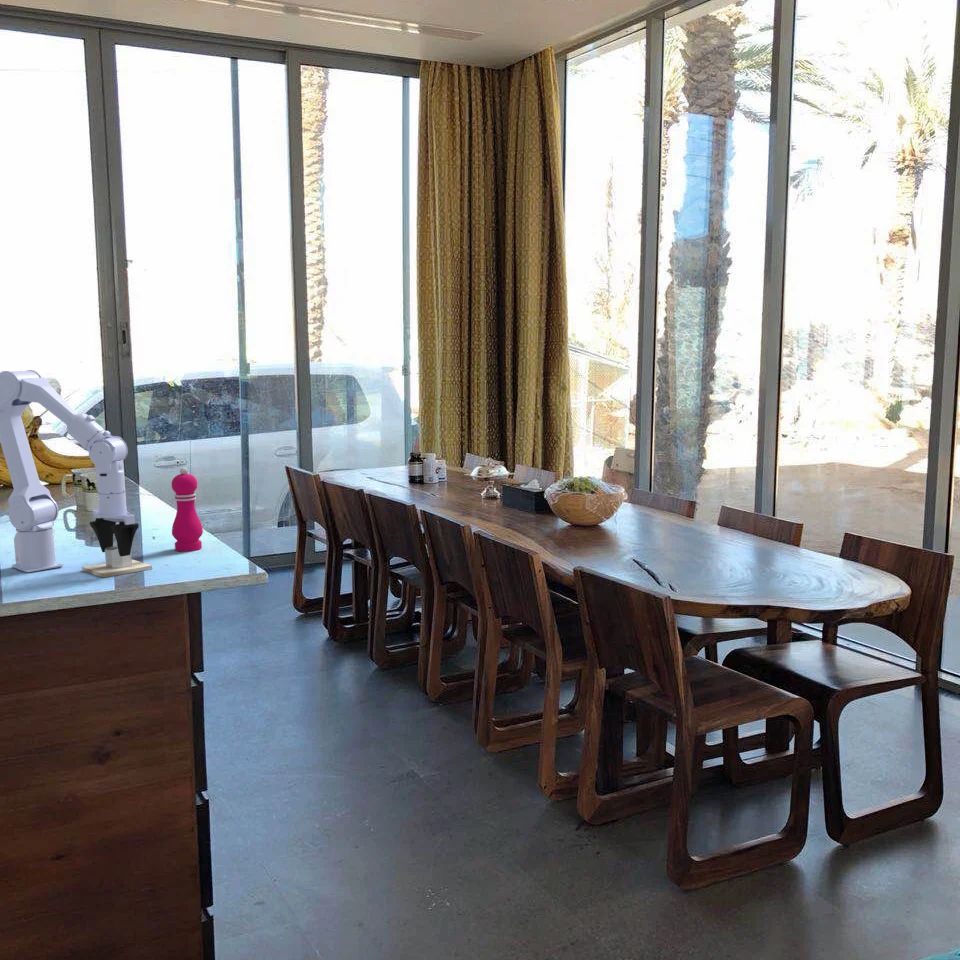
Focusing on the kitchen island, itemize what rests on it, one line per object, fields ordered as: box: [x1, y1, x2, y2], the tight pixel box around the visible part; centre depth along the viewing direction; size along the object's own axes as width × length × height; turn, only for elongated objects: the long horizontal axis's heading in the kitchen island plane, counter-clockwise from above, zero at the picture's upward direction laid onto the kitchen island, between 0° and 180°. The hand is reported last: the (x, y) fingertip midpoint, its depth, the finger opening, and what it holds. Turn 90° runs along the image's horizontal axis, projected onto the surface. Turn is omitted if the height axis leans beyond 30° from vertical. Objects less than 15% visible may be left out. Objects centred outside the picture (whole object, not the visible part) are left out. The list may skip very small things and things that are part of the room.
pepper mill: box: [171, 466, 204, 552], centre depth 238 cm, size 7×7×20 cm
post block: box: [81, 559, 153, 578], centre depth 218 cm, size 11×11×4 cm
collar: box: [104, 545, 133, 568], centre depth 218 cm, size 5×5×4 cm
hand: (116, 553), depth 218 cm, fingers open, 7 cm apart
